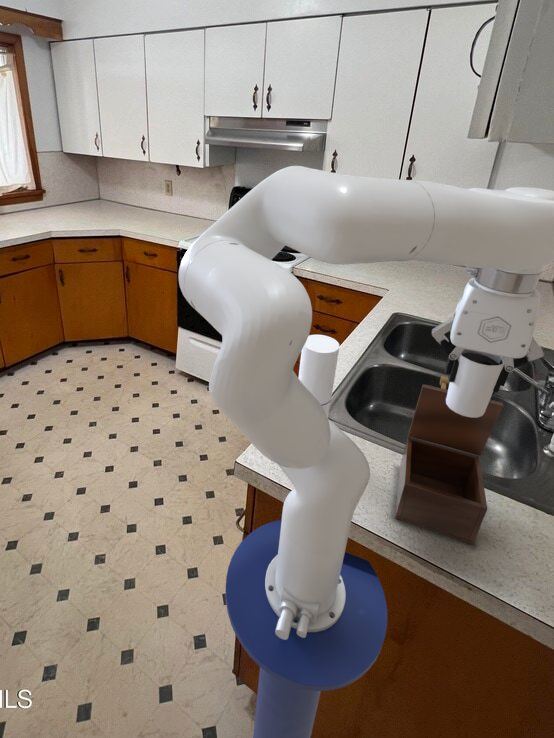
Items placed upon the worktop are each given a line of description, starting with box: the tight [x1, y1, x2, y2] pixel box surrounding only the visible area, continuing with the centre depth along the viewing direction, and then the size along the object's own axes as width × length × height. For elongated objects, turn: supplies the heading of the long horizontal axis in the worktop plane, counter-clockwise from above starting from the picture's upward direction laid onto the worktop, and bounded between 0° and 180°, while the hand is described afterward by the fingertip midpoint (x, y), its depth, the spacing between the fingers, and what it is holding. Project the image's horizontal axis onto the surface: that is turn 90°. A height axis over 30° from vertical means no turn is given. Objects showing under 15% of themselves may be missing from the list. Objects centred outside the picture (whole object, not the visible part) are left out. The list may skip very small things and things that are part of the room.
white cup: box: [446, 349, 504, 418], centre depth 68 cm, size 7×7×10 cm
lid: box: [407, 375, 504, 456], centre depth 79 cm, size 13×13×6 cm
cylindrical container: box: [298, 334, 340, 419], centre depth 89 cm, size 7×7×25 cm
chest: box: [394, 436, 488, 545], centre depth 78 cm, size 13×13×9 cm
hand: (472, 381), depth 68 cm, fingers closed on white cup, 5 cm apart
